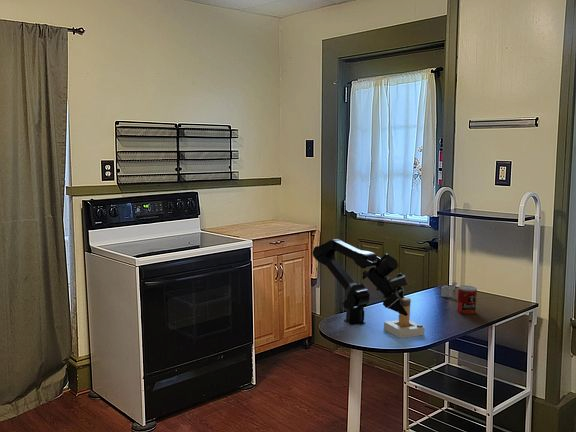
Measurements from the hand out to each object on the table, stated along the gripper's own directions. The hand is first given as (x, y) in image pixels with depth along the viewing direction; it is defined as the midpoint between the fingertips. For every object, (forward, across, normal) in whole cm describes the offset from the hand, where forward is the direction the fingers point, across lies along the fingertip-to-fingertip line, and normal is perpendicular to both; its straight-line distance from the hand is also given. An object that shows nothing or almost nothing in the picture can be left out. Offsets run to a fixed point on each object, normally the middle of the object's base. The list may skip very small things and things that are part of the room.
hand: (408, 311), depth 220 cm
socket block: (+5, 0, +7) cm, 8 cm away
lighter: (+16, +61, -4) cm, 63 cm away
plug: (+5, 0, +7) cm, 8 cm away
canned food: (+21, +38, -10) cm, 44 cm away
